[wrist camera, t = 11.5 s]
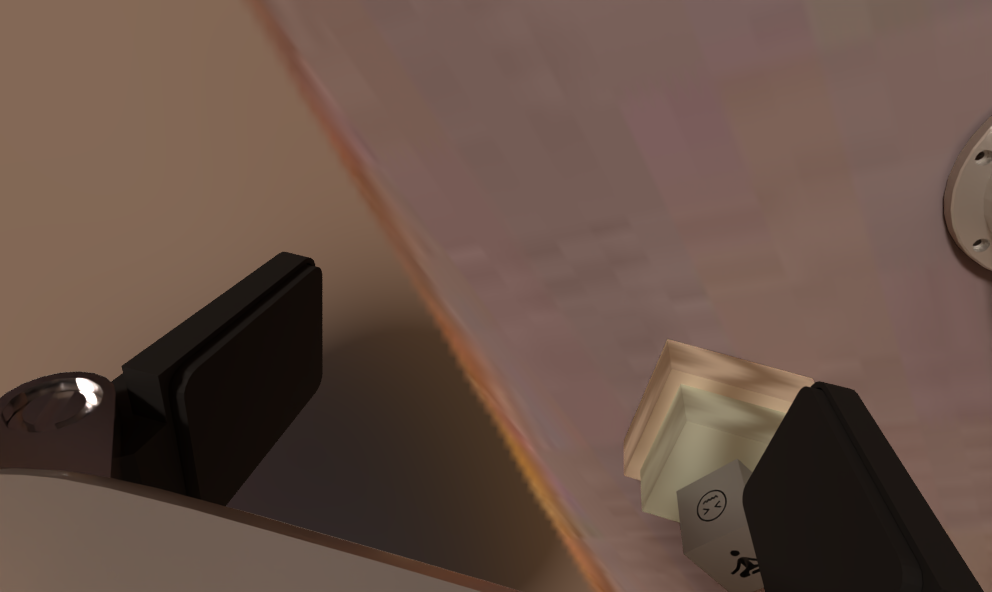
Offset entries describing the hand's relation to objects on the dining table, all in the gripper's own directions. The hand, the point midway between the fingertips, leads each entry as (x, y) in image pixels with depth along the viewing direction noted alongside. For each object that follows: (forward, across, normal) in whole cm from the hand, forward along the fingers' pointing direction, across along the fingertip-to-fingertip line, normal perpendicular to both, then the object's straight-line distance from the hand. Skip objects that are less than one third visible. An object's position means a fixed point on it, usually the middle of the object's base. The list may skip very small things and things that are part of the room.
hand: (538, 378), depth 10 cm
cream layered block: (+28, -15, +20) cm, 38 cm away
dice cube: (+20, -15, +21) cm, 33 cm away
